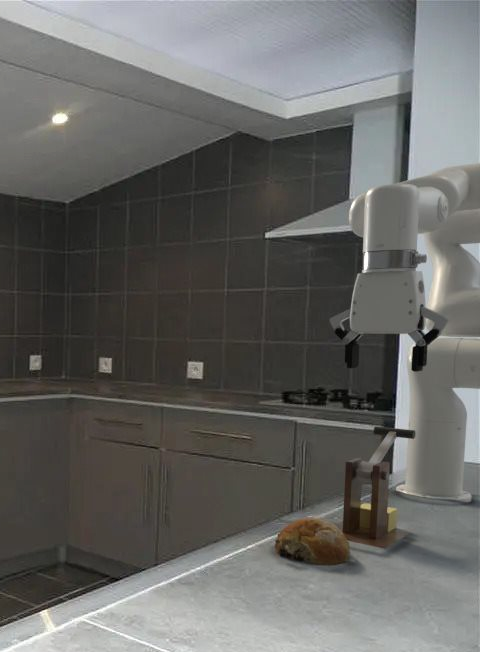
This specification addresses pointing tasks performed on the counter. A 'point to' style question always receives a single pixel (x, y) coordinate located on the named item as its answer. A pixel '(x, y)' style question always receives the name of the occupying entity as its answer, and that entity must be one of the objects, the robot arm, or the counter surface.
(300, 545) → the bread roll
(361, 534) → the cutter
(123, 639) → the counter surface
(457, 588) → the counter surface
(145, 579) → the counter surface
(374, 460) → the arm
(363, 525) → the butter
